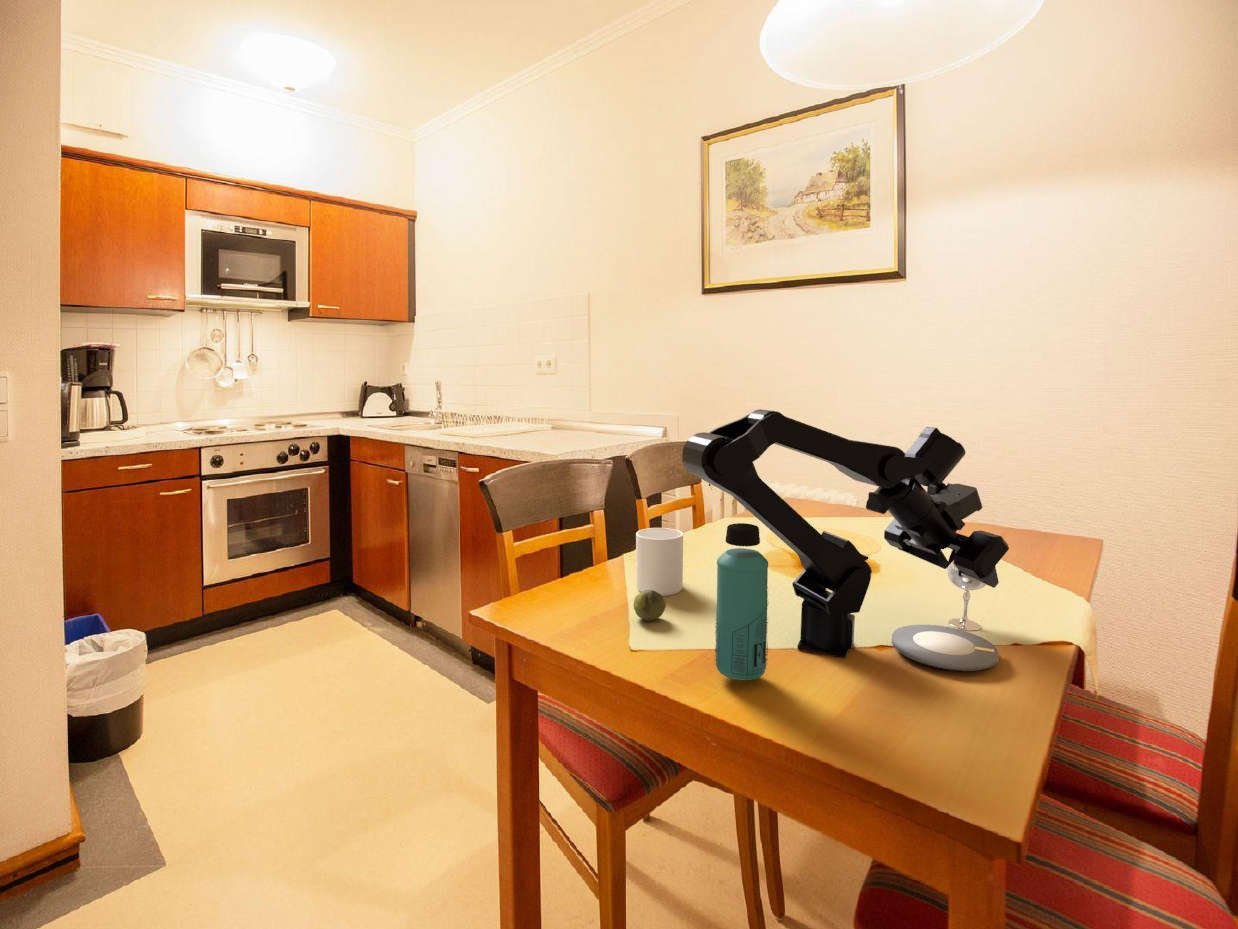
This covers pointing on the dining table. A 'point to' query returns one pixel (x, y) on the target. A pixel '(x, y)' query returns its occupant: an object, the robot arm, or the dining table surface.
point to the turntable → (945, 647)
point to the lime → (649, 605)
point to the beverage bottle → (741, 606)
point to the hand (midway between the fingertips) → (970, 575)
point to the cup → (659, 560)
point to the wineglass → (967, 585)
